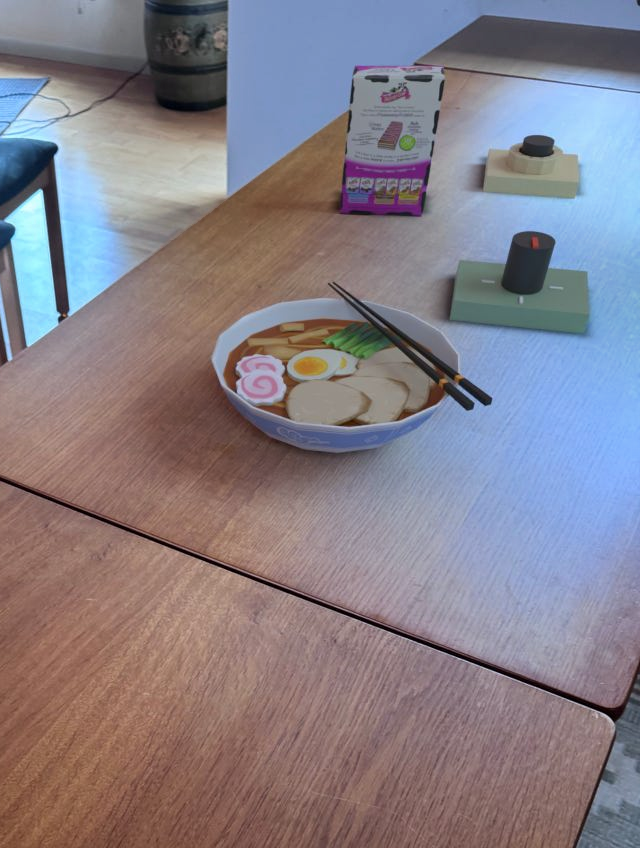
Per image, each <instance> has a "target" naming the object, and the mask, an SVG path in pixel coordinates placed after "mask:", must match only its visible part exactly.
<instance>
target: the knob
mask: <svg viewBox="0 0 640 848" xmlns="http://www.w3.org/2000/svg"><path fill="white" fill-rule="evenodd" d="M556 243H557V242H556V239H555V238H554V237H553V236H552V235H551V234H548V233H545V232H542V231H536V230H527V231H526V230H525V231H520V232H517V233H515V234H514V235H513V236H512V238H511V242H510V246H509V250H508V254H507V257H506V261H505V264H506V265H505V269H504V273H503V277H502V281H501V285H502V286H503V288H505V289H506V290H508V291H510V292H513V293H517V294H534V293H537V292H539V291H541V290H542V288H543V284H544V281H545V278H546V274H547V271H548V268H550V263H551V261H552V257H553V253H554V249H555V245H556Z"/></svg>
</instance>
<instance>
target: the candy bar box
mask: <svg viewBox="0 0 640 848" xmlns="http://www.w3.org/2000/svg"><path fill="white" fill-rule="evenodd" d="M445 80H446V74H445V65H354V67H353V72H352V77H351V86H350V95H349V106H348V117H347V126H346V136H345V145H344V146H345V147H344V155H343V157H344V158H343V168H342V177H341V187H340V188H341V189H340V196H339V206H338V212H339V214H347V215H349V214H350V215H373V216H374V215H375V216H377V215H378V216H407V217H408V216H410V217H411V216H412V217H421V216H423V215H424V210H425V205H426V204H425V203H426V199H427V198H426V197H427V191H428V186H429V179H430V175H431V174H430V173H431V167H432V161H433V156H434V150H435V149H434V148H435V144H436V143H435V142H436V136H437V131H438V124H439V119H440V114H441V113H440V112H441V106H442V101H443V95H444V94H443V93H444V90H445V82H446V81H445Z"/></svg>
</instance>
